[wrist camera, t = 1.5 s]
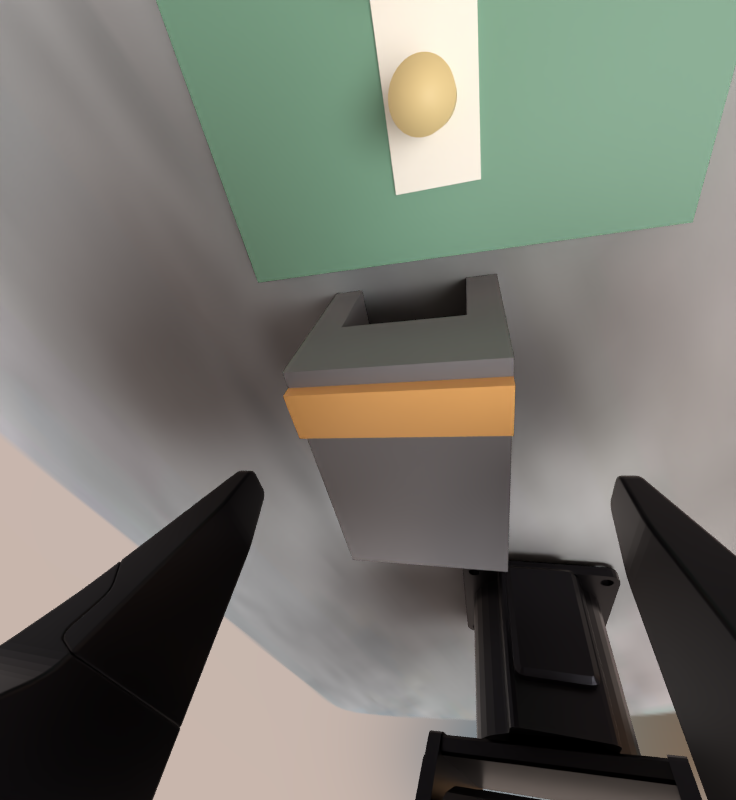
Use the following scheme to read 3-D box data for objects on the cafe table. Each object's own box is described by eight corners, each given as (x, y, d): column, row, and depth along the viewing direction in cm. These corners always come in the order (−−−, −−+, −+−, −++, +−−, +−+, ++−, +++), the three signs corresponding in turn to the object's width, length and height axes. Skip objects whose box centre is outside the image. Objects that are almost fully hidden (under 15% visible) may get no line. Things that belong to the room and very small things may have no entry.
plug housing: (496, 458, 14) (508, 582, 10) (377, 458, 15) (350, 568, 12) (496, 273, 10) (515, 366, 7) (337, 293, 12) (276, 380, 8)
